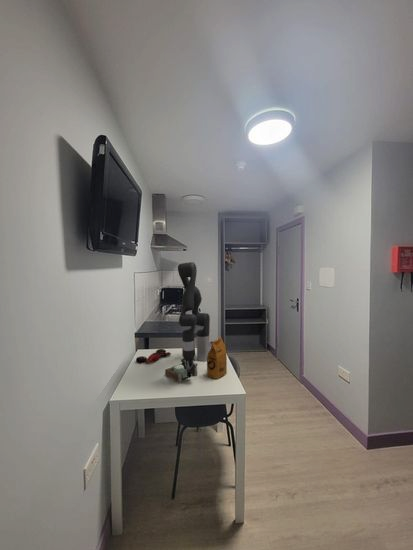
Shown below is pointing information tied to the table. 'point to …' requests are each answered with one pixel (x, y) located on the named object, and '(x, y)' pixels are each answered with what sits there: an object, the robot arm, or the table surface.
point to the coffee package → (217, 359)
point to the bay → (174, 376)
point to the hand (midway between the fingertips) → (189, 377)
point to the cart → (180, 370)
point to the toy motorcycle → (153, 356)
